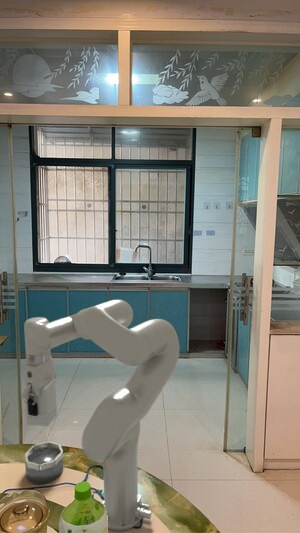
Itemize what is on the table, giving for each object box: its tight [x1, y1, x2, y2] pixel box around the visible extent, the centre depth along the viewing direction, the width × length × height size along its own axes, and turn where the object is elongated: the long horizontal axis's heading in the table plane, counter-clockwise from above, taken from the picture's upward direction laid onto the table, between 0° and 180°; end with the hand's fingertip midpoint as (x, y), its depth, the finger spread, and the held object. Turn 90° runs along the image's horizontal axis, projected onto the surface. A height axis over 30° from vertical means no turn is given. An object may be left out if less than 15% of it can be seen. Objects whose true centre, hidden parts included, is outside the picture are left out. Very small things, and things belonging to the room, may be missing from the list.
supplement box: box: [23, 379, 58, 427], centre depth 118 cm, size 7×7×13 cm
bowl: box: [24, 441, 64, 486], centre depth 121 cm, size 12×12×7 cm
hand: (41, 407), depth 118 cm, fingers closed on supplement box, 7 cm apart
